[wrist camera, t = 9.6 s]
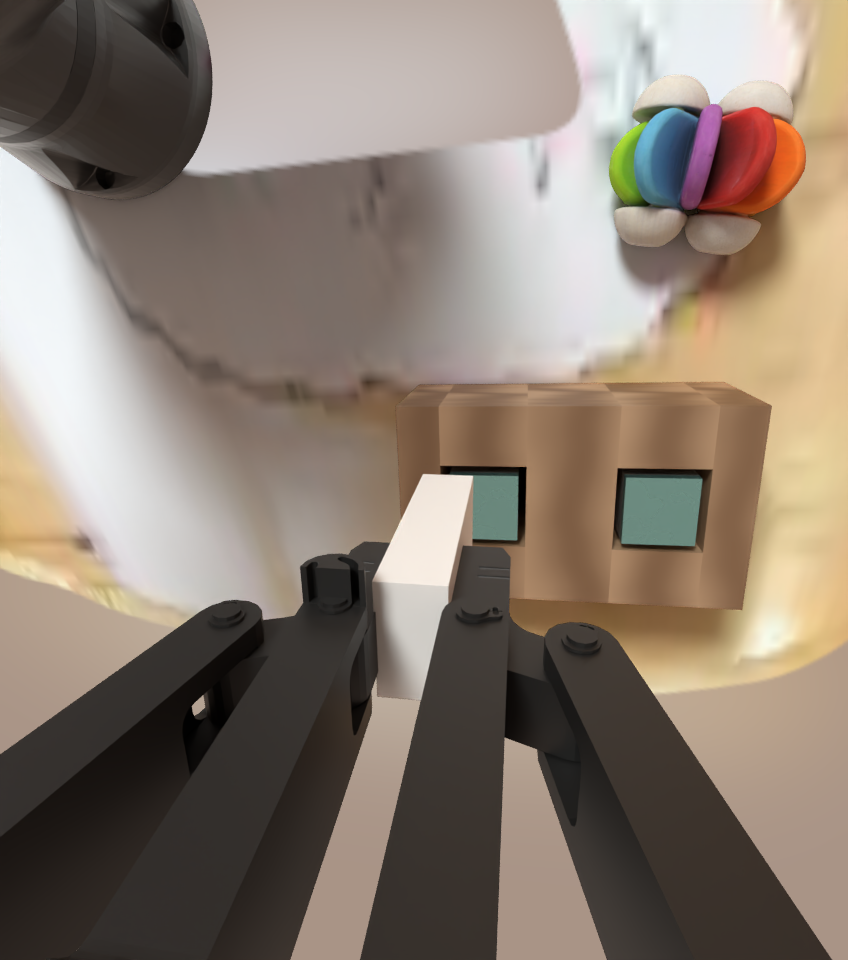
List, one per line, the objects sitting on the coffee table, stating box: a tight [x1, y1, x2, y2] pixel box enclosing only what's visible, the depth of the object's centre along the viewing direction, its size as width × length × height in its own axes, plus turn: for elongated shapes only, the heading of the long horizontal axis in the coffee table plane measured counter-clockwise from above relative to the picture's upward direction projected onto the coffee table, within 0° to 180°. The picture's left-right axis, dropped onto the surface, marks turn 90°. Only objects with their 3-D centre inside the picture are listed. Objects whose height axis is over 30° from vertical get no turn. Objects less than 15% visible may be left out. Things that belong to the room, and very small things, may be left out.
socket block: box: [396, 382, 772, 610], centre depth 38 cm, size 20×12×8 cm, turn 92°
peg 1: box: [449, 466, 519, 540], centre depth 39 cm, size 4×4×8 cm
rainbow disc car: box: [609, 75, 806, 255], centre depth 32 cm, size 8×10×7 cm
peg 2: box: [614, 468, 702, 546], centre depth 37 cm, size 4×4×8 cm
